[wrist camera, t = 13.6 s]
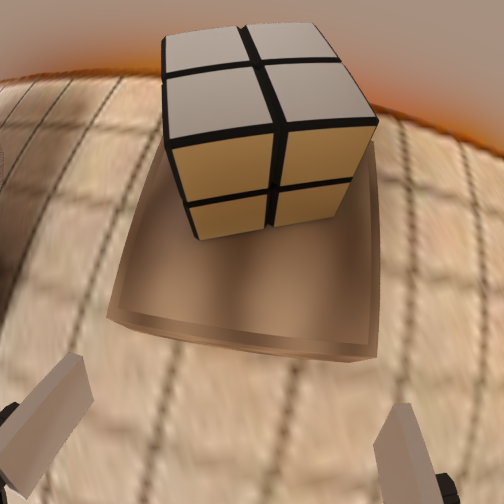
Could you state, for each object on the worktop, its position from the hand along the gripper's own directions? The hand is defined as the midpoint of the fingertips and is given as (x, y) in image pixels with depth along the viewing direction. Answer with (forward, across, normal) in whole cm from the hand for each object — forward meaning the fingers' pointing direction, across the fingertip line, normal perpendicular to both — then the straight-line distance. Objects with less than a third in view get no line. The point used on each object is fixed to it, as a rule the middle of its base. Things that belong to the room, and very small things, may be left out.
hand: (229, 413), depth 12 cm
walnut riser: (+18, -1, +1) cm, 18 cm away
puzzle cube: (+15, -2, +8) cm, 17 cm away
